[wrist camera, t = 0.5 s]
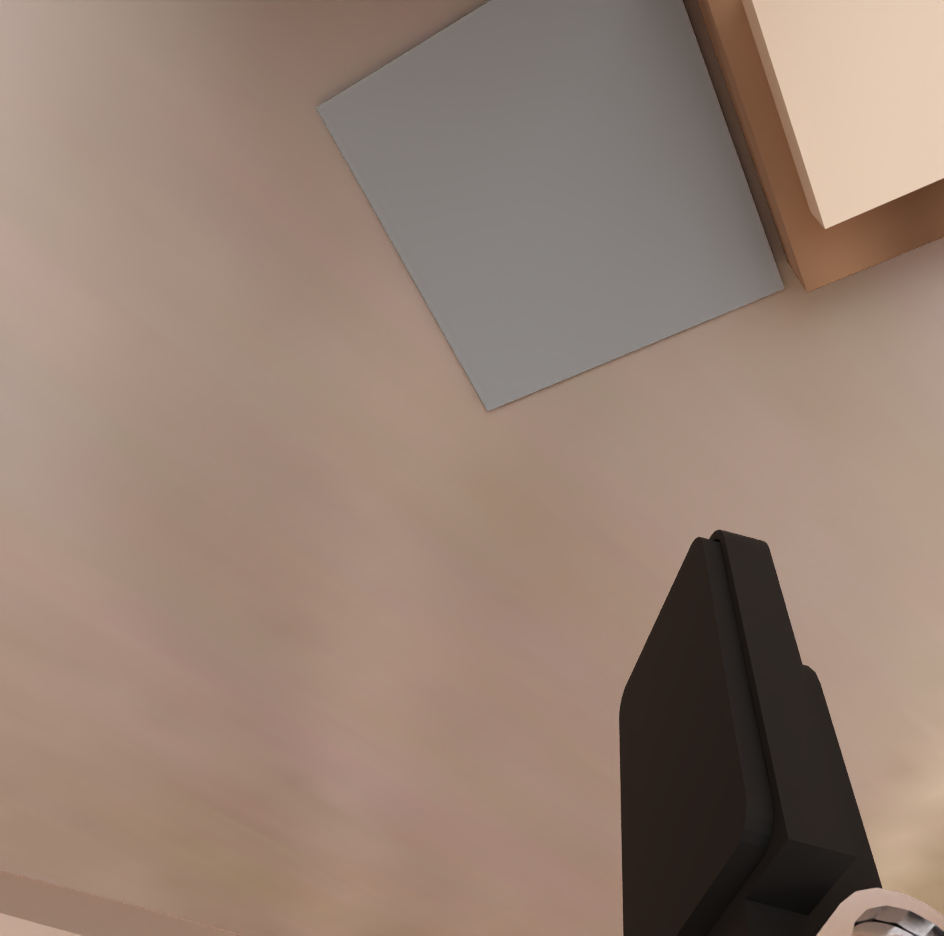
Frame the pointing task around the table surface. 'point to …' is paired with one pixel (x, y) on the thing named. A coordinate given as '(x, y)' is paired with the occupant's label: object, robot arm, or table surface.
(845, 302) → the table surface
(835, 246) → the board
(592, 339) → the slate mat
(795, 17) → the cream coaster
